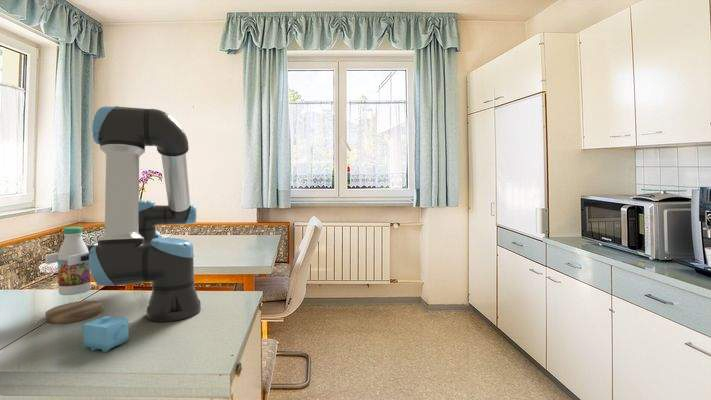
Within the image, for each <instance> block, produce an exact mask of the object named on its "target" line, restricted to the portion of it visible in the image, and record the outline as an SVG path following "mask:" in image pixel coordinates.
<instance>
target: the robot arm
mask: <svg viewBox="0 0 711 400" xmlns="http://www.w3.org/2000/svg"><path fill="white" fill-rule="evenodd" d="M91 132H92V139H93V141H94V143H96V144H97V145H99V150H101V151H102V152H103V153H104V154H105V182H104V183H105V186H104V187H105V190H104V191H105V192H104V193H105V194H104V196H105V197H104V198H105V199H104V233H103V235H101V236H100V237H99V238H98V239H97V244H95V245H94V244H90V245H86V246H87V248H88V251H89V252H86V253H81V254H76V255H72V256H67V258H68V266H71V265H75V264H79V263H83V262H88V261H89V266H90V276H91V277H92V279H93V281H94V282H95V283H96V284H97V285H99V286H102V287H103V286H104V287H107V286H109V287H110V286H114V287H116V286H123V285H130V284H131V285H132V284H144V283H152V288H151V289H152V292H151V295H150V298H149V302H148V306H147V307H146V310H145V312H146V319H147V320H149V321H151V322H155V323H156V322H159V323H167V322H176V321H180V320H185V319H189V318H190V317H191V318H192V317H193V316H196V315H197V314H198V313H200V312H201V309H202V307H201V305H202V303H201V300H200V299H199V295H198V293H197V290H196V288H195V266H194V265H195V261H194V258H195V253H194V245H193V243H192V241H189V240H187V239H184V238H176V237H163V236H162V234H161V233H160V232H159V231H158V230H156V226H163V225H164V226H165V225H173V226H174V225H191V224H195V223H196V222H197V206H196V205H194V204H191V201H190V189H189V187H190V185H189V178H188V177H189V176H188V163H187V153H188V152H189V150H190V149H189V148H190V147H189V140H188V136H187V135H186V133H185V131H184V129H183V127H182V126H181V124H180V123H179V122H178V121H177V119H176V118H174V117H173V116H171V115H170V114H169V113H167V112H165V111H163V110H160V109H156V108H143V107H141V108H140V107H128V106H118V105H115V106H109V105H108V106H101V107H100V108H98V109H97V110H96V111H95V114H94V117H93V120H92V131H91ZM146 147H156V151H157V153H158V154H159V155H161V163H162V169H163V176H164V184H165V190H166V191H165V192H166V199H167V205H161V204H160V205H158V204H157V205H156V202H155V201H154V200H140V196H139V195H140V157H141V156H142V155H143V154H145V152H146ZM58 254H59V251H58V252H54V253H49V254H45V255H44V262H45V265H50V264H54V263H55V264H56V263H58Z"/></svg>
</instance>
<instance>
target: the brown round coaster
mask: <svg viewBox="0 0 711 400" xmlns="http://www.w3.org/2000/svg"><path fill="white" fill-rule="evenodd" d="M102 312H104V302H103V301H100V300H80V301H74V302H68V303H64V304H61V305H57V306H54V307H52V308H50V309H48V310H46V312H45V313H44V314H45V315H44V319H45V322H46V323H48V324H57V325H58V324H68V323H75V322H80V321H84V320H89V319H91V318H93V317H96V316H99V315H100V314H102Z"/></svg>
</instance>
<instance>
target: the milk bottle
mask: <svg viewBox="0 0 711 400" xmlns="http://www.w3.org/2000/svg"><path fill="white" fill-rule="evenodd" d="M62 230H63V231H62V232H63V236H64V239H63V242H62V245H61V246H60V249H59V250H58V252H59V254H58V262H57V278H58V279H57V282H58V284H57V285H58V294H59V295H61V296H74V295H80V294H84V293H86V292H89V291H90V290H91V285H92V284H91V271H90V266H89V261H88V262H83V263H79V264H75V265H71V266H68V258H67V256H72V255H76V254H81V253H86V252H89V251H88V248H87V246H88V245H87V244H85V241H84V238H83V237H82V236H83V234H84V233H83V227H82V226H73V227H72V226H69V227H64V228H63V229H62Z"/></svg>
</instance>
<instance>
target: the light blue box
mask: <svg viewBox="0 0 711 400" xmlns="http://www.w3.org/2000/svg"><path fill="white" fill-rule="evenodd" d="M129 324H130V323H129V318H127V317H121V316H112V315H104V316H101V317H99V318H96V319H94V320H91V321H89V322H87V323H84V324H82V338H83V341H82V343H83V348H90V351H95V350H101V352H102V353H107V352H109V351H110V350H111V349H113V348H115V347H116V346H121V345H123V343H125V342H126V341H128V340H129V334H130V333H129V332H130V331H129Z"/></svg>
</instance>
